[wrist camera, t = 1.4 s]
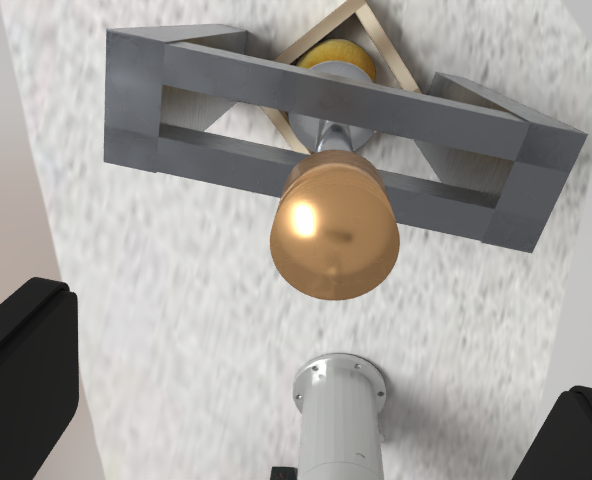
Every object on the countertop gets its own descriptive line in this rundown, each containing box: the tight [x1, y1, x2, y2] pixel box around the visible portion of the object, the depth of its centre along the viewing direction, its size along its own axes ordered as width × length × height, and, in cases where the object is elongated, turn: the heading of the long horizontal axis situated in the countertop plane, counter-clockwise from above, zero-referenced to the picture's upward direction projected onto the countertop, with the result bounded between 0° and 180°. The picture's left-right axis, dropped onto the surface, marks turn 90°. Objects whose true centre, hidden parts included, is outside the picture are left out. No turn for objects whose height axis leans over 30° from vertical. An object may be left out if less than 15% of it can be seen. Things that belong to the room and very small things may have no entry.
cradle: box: [260, 0, 422, 155], centre depth 47 cm, size 11×13×2 cm
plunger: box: [270, 60, 400, 300], centre depth 26 cm, size 7×7×25 cm
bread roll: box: [296, 39, 375, 82], centre depth 46 cm, size 8×9×4 cm
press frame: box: [104, 24, 588, 253], centre depth 37 cm, size 7×25×25 cm, turn 79°
